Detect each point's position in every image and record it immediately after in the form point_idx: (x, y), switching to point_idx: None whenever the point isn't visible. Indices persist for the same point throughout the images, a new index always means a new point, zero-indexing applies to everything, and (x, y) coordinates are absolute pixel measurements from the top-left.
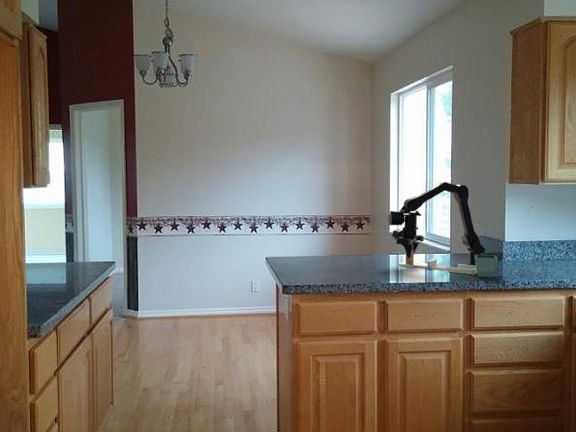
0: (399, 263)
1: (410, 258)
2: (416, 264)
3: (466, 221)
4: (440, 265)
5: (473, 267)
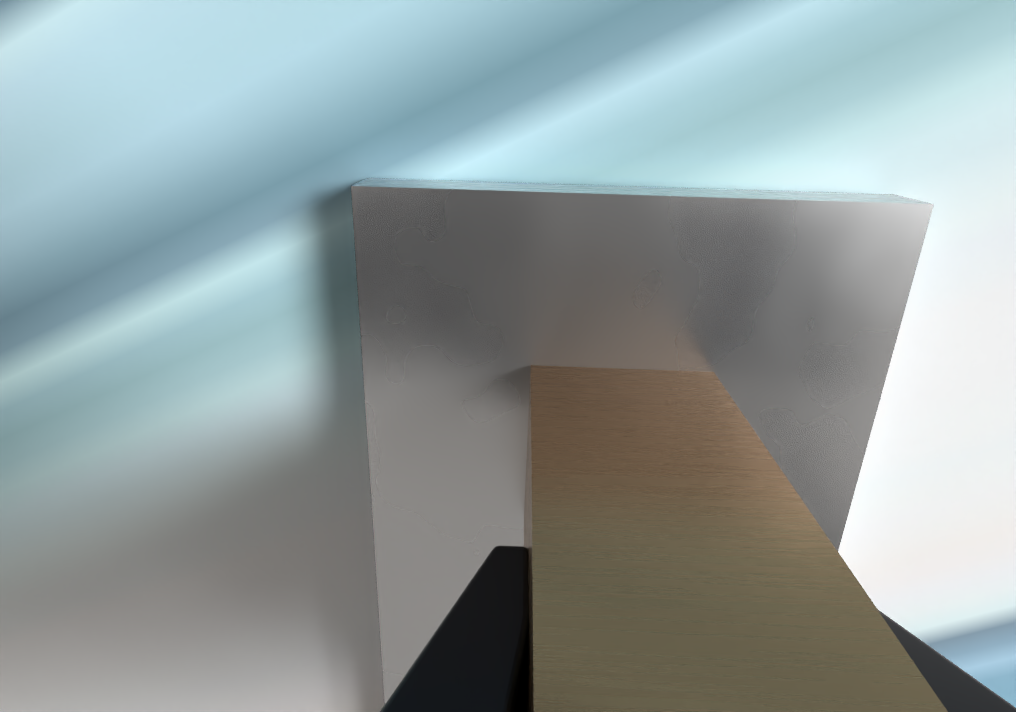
0: (387, 211)
1: None
2: None
3: None
4: None
5: None
